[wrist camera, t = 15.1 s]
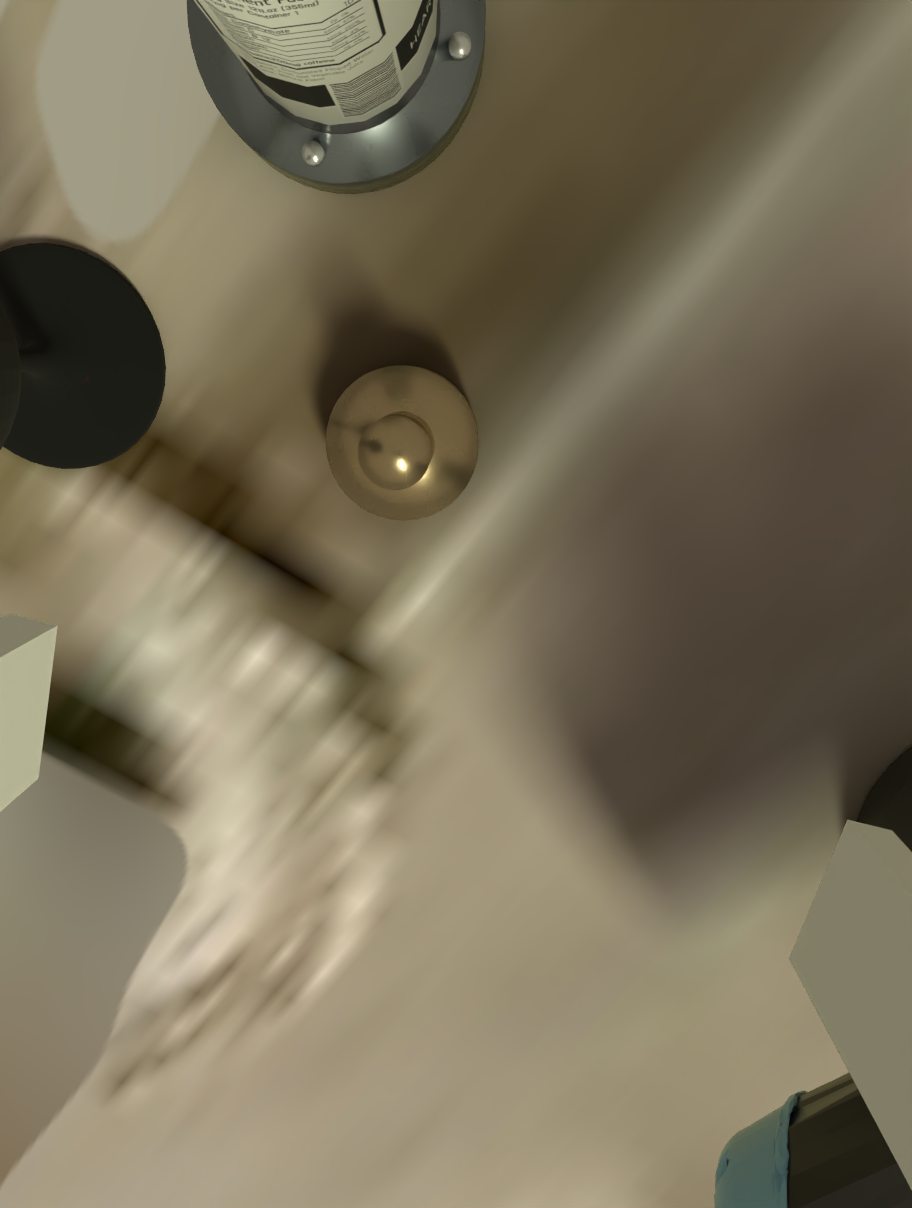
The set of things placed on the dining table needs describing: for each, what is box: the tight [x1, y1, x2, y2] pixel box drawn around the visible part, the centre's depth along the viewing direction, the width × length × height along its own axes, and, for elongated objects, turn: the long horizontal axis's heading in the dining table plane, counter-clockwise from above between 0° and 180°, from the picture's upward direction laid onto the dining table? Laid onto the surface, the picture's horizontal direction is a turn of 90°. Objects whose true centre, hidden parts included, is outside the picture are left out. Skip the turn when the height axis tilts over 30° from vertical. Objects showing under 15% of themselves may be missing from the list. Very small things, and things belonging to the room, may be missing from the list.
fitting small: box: [326, 365, 478, 520], centre depth 37 cm, size 7×7×6 cm
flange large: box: [187, 0, 486, 194], centre depth 34 cm, size 12×12×3 cm
